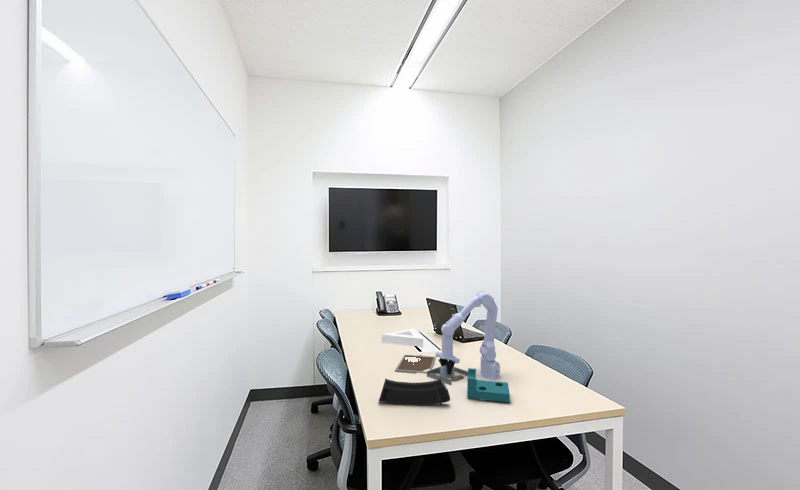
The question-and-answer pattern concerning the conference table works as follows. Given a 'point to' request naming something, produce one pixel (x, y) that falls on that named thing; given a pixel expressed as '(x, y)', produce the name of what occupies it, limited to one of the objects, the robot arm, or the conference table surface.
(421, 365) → the picture frame
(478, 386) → the teal l-shaped bracket
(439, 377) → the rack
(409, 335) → the triangle block
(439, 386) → the magazine
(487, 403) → the conference table surface
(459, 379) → the offcut top
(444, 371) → the panel
